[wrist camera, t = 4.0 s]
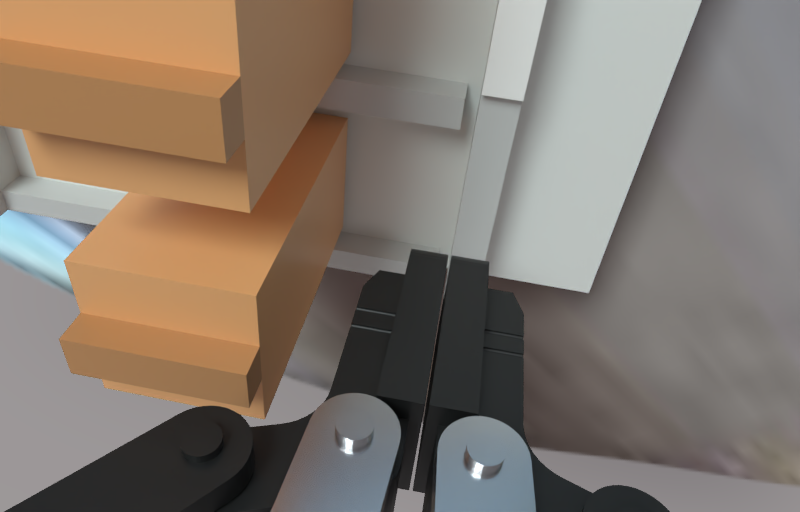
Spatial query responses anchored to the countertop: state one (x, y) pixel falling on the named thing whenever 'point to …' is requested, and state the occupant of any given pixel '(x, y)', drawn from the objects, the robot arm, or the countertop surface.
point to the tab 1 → (168, 90)
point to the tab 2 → (209, 284)
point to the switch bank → (469, 133)
